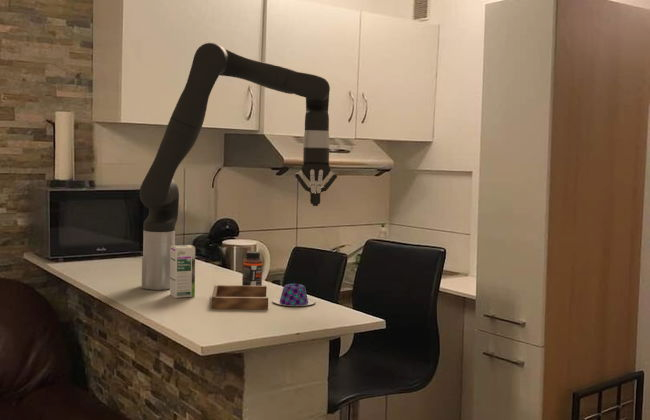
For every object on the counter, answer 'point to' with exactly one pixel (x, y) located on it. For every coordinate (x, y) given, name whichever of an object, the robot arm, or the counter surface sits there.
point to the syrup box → (182, 271)
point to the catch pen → (248, 298)
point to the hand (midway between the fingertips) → (315, 205)
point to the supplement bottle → (252, 269)
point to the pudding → (294, 296)
